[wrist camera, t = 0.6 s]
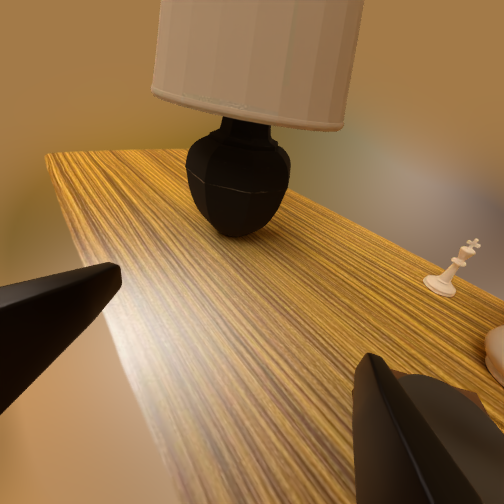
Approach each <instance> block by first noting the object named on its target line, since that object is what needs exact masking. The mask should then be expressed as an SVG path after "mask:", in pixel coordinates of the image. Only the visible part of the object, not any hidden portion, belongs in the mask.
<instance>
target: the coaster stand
mask: <svg viewBox="0 0 504 504" xmlns="http://www.w3.org/2000/svg"><path fill="white" fill-rule="evenodd" d="M390 370H391V371H392V372H393V374H394V375H395V377H396V378H397V380H398V381H399V382H400V384H401V385H402V387H403V388H404V389H405V391H406V392H407V394H408V395H409V397H410V398H411V399H412V401H413V402H414V404H415V405H416V406H417V408H418V409H419V411H420V412H421V414H422V415H423V416H424V418H425V419H426V421H427V422H428V424H429V425H430V426H431V428H432V429H433V431H434V432H435V433H436V435H437V436H438V438H439V439H440V441H441V442H442V443H443V445H444V446H445V448H446V449H447V450H448V452H449V453H450V455H451V456H452V458H453V459H454V460H455V462H456V463H457V465H458V466H459V467H460V469H461V470H462V472H463V473H464V475H465V476H466V477H467V479H468V480H469V482H470V483H471V485H472V486H473V487H474V489H475V490H476V492H477V493H478V494H479V496H480V497H481V499H482V503H484V504H504V434H503V433H502V432H501V430H500V429H499V428H498V427H497V425H496V424H495V423H494V422H493V421H492V420H491V419H490V417H489V415H488V414H487V412H486V410H485V408H484V406H483V404H482V403H481V401H480V399H479V397H478V395H477V394H476V393H474V392H471V391H467V390H463V389H460V388H456V387H453V386H450V385H448V384H446V383H444V382H442V381H440V380H438V379H435V378H432V377H429V376H425V375H419V374H406V373H402V372H399V371H395V370H392V369H390ZM352 396H353V397H354V389H353V390H352Z"/></svg>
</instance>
